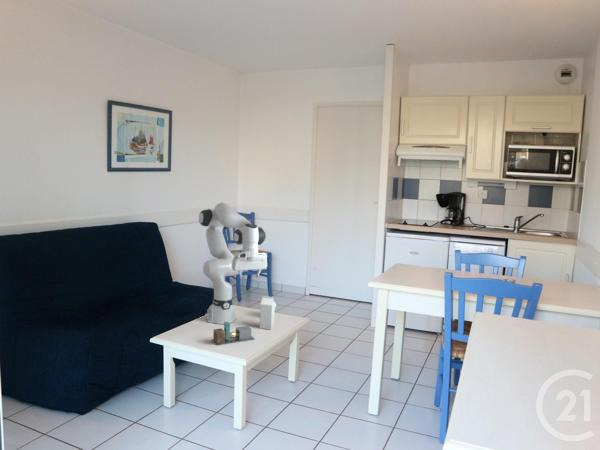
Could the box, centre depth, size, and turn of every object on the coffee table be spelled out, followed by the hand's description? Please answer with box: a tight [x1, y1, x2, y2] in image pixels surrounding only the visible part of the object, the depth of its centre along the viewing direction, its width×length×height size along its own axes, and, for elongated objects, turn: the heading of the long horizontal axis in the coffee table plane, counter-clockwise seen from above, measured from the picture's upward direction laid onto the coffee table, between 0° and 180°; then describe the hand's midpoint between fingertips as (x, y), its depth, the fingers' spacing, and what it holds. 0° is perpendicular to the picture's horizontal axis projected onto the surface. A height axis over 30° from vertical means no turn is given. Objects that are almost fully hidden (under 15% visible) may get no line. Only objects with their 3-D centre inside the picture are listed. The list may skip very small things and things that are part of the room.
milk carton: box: [259, 295, 276, 330], centre depth 288 cm, size 7×7×19 cm
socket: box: [212, 328, 225, 343], centre depth 261 cm, size 4×6×6 cm
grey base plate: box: [211, 325, 255, 346], centre depth 265 cm, size 22×8×6 cm, turn 120°
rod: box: [223, 321, 239, 340], centre depth 264 cm, size 13×4×10 cm, turn 120°
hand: (249, 277), depth 268 cm, fingers open, 8 cm apart
